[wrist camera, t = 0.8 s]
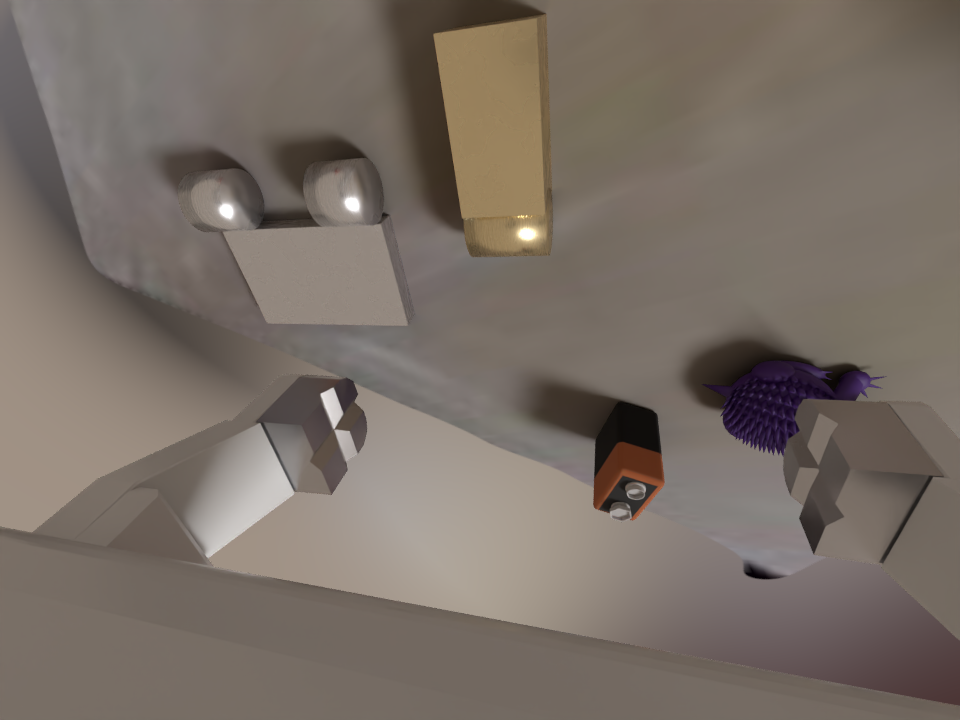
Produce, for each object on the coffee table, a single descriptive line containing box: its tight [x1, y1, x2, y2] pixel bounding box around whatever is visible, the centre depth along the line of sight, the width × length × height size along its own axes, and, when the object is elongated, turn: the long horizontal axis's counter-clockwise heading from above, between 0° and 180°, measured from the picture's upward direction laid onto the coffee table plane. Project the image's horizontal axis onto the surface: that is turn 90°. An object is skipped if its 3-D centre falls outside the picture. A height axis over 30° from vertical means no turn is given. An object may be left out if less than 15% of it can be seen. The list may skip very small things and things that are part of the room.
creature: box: [702, 361, 887, 456], centre depth 37 cm, size 9×18×12 cm, turn 85°
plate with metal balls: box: [178, 158, 415, 326], centre depth 41 cm, size 16×16×5 cm
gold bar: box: [433, 14, 553, 257], centre depth 32 cm, size 6×15×5 cm, turn 7°
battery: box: [593, 402, 665, 522], centre depth 45 cm, size 4×7×10 cm, turn 168°
